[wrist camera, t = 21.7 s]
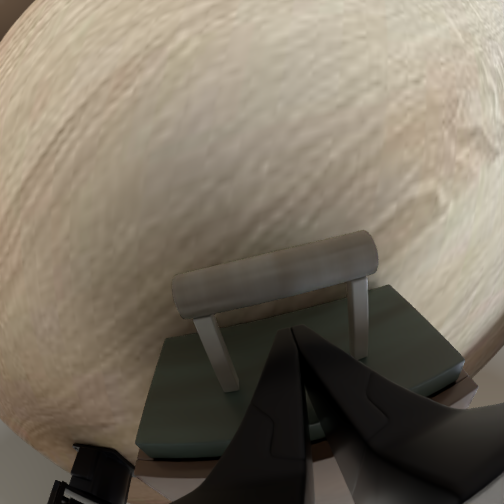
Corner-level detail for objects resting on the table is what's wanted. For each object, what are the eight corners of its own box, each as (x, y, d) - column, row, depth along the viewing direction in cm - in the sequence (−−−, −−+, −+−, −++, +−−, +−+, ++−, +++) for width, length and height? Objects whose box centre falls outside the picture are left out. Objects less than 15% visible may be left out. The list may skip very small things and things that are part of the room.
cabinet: (166, 346, 15) (132, 474, 7) (390, 292, 15) (479, 386, 6) (229, 452, 19) (232, 533, 11) (376, 416, 19) (410, 489, 11)
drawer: (129, 253, 12) (53, 338, 5) (384, 193, 12) (491, 232, 5) (229, 449, 18) (231, 519, 11) (376, 413, 18) (406, 475, 11)
